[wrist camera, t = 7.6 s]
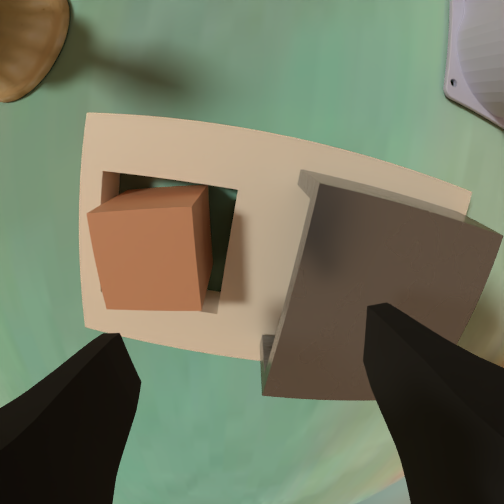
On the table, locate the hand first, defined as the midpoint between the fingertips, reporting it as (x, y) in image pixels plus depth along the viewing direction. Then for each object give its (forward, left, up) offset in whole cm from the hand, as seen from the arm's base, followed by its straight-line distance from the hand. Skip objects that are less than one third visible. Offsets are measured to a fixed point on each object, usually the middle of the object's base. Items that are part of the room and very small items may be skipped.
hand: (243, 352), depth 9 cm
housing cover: (0, +6, -7) cm, 9 cm away
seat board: (0, +1, -9) cm, 9 cm away
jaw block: (0, -4, -9) cm, 10 cm away
